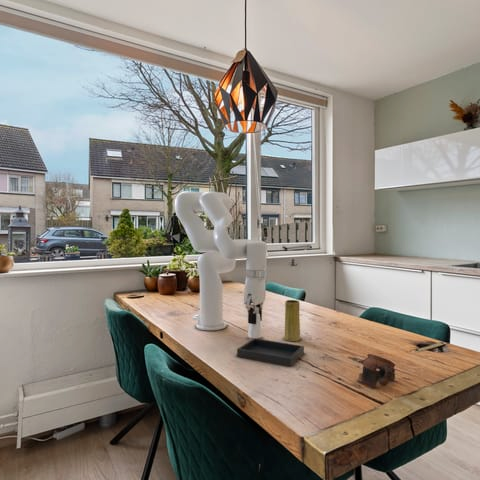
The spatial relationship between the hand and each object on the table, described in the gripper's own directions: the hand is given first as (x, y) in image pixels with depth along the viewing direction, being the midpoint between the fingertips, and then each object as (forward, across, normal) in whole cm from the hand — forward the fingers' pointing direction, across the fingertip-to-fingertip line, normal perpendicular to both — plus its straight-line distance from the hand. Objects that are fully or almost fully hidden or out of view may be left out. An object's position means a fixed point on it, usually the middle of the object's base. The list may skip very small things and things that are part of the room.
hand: (254, 321), depth 136 cm
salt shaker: (+6, 0, 0) cm, 6 cm away
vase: (+6, -6, +13) cm, 16 cm away
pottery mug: (+5, +19, +47) cm, 51 cm away
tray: (+6, +13, +12) cm, 19 cm away
